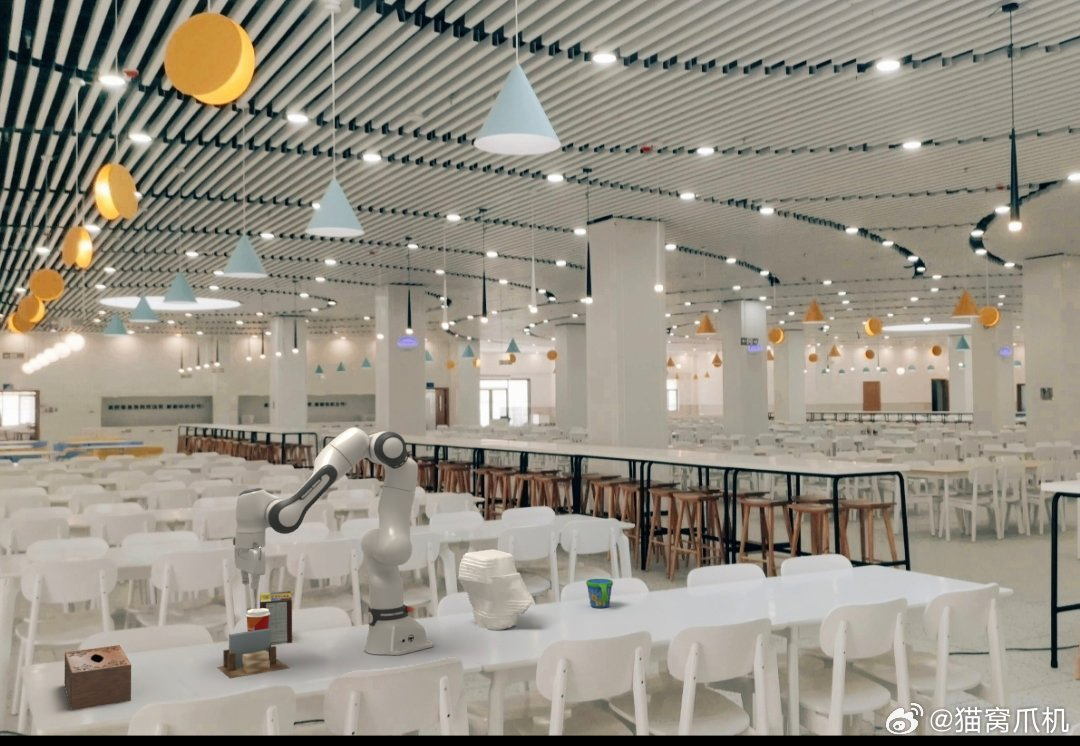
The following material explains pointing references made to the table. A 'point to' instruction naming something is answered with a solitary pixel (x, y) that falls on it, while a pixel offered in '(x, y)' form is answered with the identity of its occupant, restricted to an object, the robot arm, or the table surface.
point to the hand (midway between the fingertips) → (249, 586)
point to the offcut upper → (255, 657)
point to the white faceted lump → (494, 588)
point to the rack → (234, 672)
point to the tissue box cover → (97, 677)
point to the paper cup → (257, 619)
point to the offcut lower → (257, 667)
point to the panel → (248, 643)
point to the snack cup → (599, 592)
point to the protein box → (278, 616)
